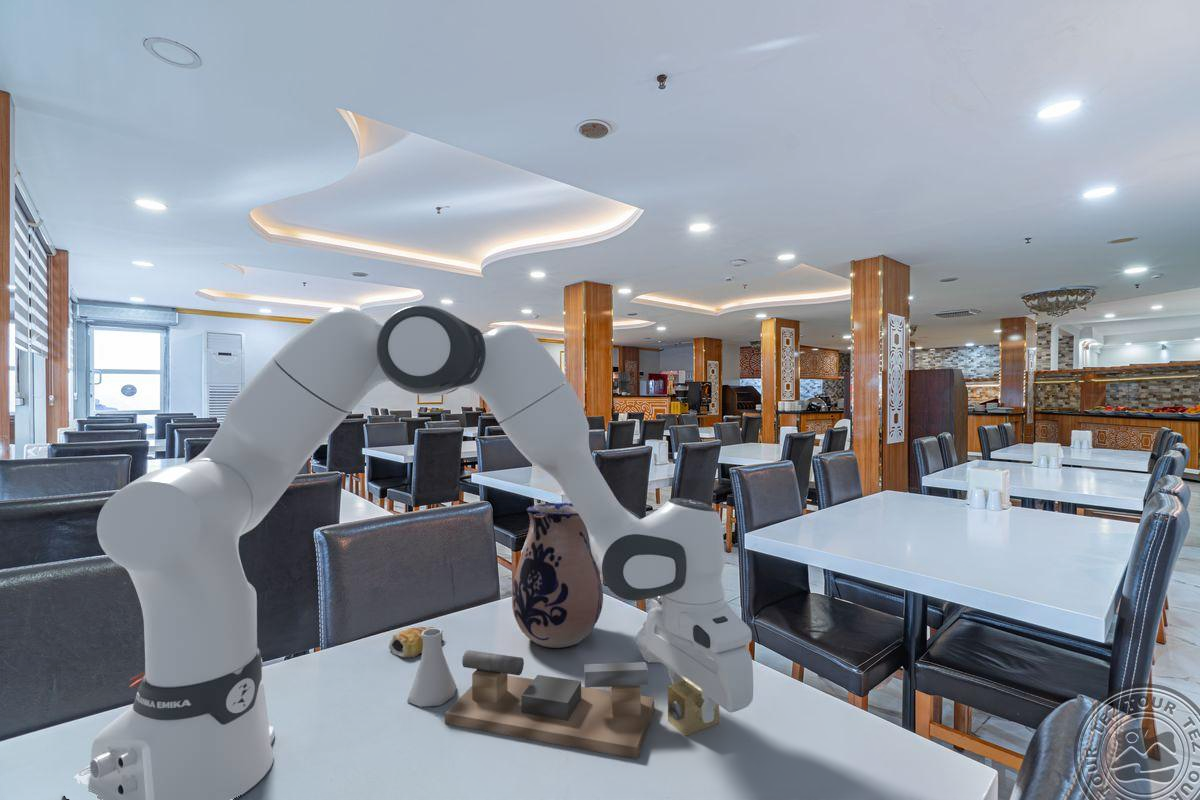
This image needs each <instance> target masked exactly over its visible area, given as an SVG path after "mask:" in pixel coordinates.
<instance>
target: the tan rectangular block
mask: <svg viewBox="0 0 1200 800" xmlns="http://www.w3.org/2000/svg"><path fill="white" fill-rule="evenodd" d="M704 700H705V699H702V692H700V691H699V690H698V689H696V688H695V687H694V686H692V685H691V684H690V683H688V682H687V681H686V680H685V681H682V682H679V683H676V684H673V685H672V684H670V685H667V722H668V723H670V724H671V725H672V726H674V728H676V729H677V731H679V732H680V733H681V734H683V736H685V737H686V736H689V735H691V734H695V733H697V732H700V731H702V730H705V729H708V728H710V727H713V726H715V725H716V726H717V725H718V724H719V723H720V706H719V705H718V704H717V705H716V707H715V708H714V719H713V721H711V722H708V723H704V722H703V721H702V720H701V719H700V718H698V716H697V714H698V711H697V706H699V705H703V703H704Z"/></svg>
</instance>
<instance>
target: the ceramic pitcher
mask: <svg viewBox="0 0 1200 800" xmlns="http://www.w3.org/2000/svg"><path fill="white" fill-rule="evenodd" d="M526 512H527V514H528V516H529V528H528V532H527V535H526V538H525V541H524V543H523V546H522V550H521V553H520V557H519V560H518V563H517V567H516V571H515V576H514V579H513V586H512V592H511V593H512V594H511V607H512V612H513V616H514V619H515V621H516V623H517V625H518V627H519V629H520V630H521V632H522V633H523V634H524V635H525V637H526V638H528V639H530V640H531V641H532V642H533V643H535V644H537V645H539V646H543V647H546V648H550V649H553V648H554V649H556V648H557V649H561V648H567V647H571V646H574V645H578V644H579V643H580V642H582V641H583V640H584V639H585V638H586V637H588V636H589V634H591V632H592V631H593V630H594V628H595V626H596V624H597V622H598V620H599V618H600V616H601V614H602V610H603V603H604V589H603V585H602V580H601V577H600V575H601V574H600V571H599V569H598V567H597V565H596V564H595V562H594V561H593V560H592V558H591V556H590V553H589V550H588V545H587V537H586V529H585V526H584V523H583V521H582V519H581V518H580V516H579V514H578V513H577V511H576V510H575V508H574V506H573V505H572V503H571V502H550V503H542V504H537V505H532V506H529V507H527V508H526Z"/></svg>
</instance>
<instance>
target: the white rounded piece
mask: <svg viewBox="0 0 1200 800" xmlns="http://www.w3.org/2000/svg"><path fill="white" fill-rule="evenodd" d="M646 621H647V620H645V621H644V623H642V624H643V625H642V628H641V629H640V630H638V632H637V634H636V637H635V642H636V644H637V648H638V650H639V652H640V653H641V655H642V657H643V659H644V660H645V661H646V660H647V661H649V662H648V663H651V662H657V663H660V662H659V661H658V660H657V659H656V658H654V657H653V656H652V655H650V654H649V653H648V651H647V649H646V645H645V632H646ZM647 661H646V662H647Z"/></svg>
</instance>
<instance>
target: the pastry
mask: <svg viewBox="0 0 1200 800" xmlns="http://www.w3.org/2000/svg"><path fill="white" fill-rule="evenodd" d="M428 628H435V627H434V626H428V627H424V626H421V627H420V626H419V627H411V628H410V627H409V628H407V629H406V630H400V631H398V632H397V634H393V636H392V638H391V640H390V641H389V643H388V649H389V650H390V652H391V654H393V655H394V656H395V655H396V656H400V657H401V658H406V659H407V658H414V657H417V656H419V655H420V654H422V651H423V638H421V634H422V632H423V631H424V630H426V629H428ZM442 640H443V634H442V635H441V642H442Z"/></svg>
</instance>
